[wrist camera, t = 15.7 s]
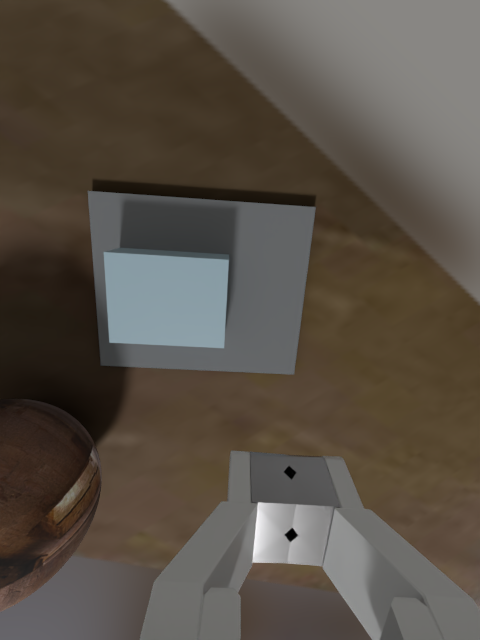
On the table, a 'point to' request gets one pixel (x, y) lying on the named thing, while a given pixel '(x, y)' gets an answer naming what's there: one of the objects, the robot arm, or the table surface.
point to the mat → (243, 275)
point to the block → (166, 297)
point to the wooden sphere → (42, 493)
